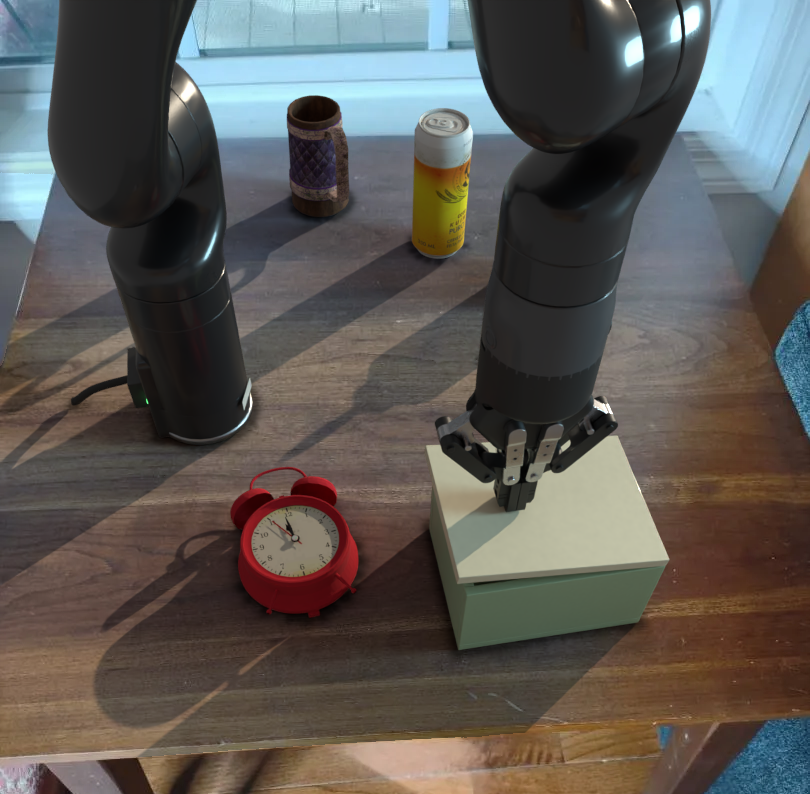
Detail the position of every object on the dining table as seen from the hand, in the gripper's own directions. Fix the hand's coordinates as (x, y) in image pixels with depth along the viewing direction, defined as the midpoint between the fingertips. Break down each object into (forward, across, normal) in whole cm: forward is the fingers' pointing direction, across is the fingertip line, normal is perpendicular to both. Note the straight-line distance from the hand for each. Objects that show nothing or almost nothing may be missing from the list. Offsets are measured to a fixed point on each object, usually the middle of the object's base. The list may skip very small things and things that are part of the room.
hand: (511, 502), depth 66 cm
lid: (+1, -3, 0) cm, 3 cm away
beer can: (+11, -4, -46) cm, 47 cm away
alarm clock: (+11, +17, -6) cm, 21 cm away
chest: (+11, -3, 0) cm, 11 cm away
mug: (+11, +8, -55) cm, 57 cm away
